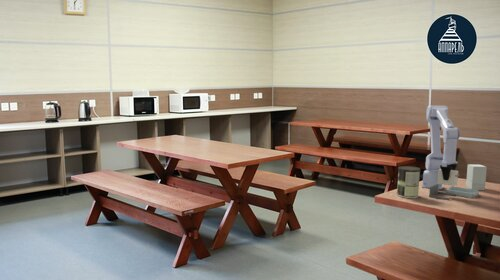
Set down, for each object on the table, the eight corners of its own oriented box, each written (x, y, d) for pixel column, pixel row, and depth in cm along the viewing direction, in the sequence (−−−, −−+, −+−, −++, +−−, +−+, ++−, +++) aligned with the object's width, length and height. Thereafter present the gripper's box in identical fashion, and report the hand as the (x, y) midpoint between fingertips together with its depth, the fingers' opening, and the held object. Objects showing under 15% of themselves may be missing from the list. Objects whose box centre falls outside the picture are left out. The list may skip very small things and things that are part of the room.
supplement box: (485, 190, 260) (487, 166, 259) (471, 189, 261) (473, 166, 259) (479, 187, 268) (481, 164, 266) (465, 186, 268) (467, 163, 266)
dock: (429, 196, 243) (429, 186, 243) (436, 192, 252) (437, 183, 251) (449, 200, 237) (450, 190, 237) (456, 196, 246) (457, 186, 245)
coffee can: (393, 196, 243) (395, 168, 242) (400, 192, 252) (402, 165, 250) (414, 199, 238) (416, 170, 236) (421, 195, 246) (423, 167, 244)
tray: (445, 193, 251) (445, 189, 250) (451, 190, 258) (452, 186, 258) (473, 198, 242) (473, 193, 242) (478, 194, 250) (478, 190, 250)
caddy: (437, 183, 245) (438, 169, 244) (440, 182, 249) (441, 168, 248) (456, 186, 239) (457, 172, 239) (459, 185, 243) (460, 171, 243)
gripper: (453, 154, 234) (451, 182, 236) (462, 151, 246) (460, 178, 247) (438, 153, 239) (436, 180, 241) (448, 149, 250) (446, 176, 252)
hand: (447, 179), depth 244 cm, fingers closed on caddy, 5 cm apart
